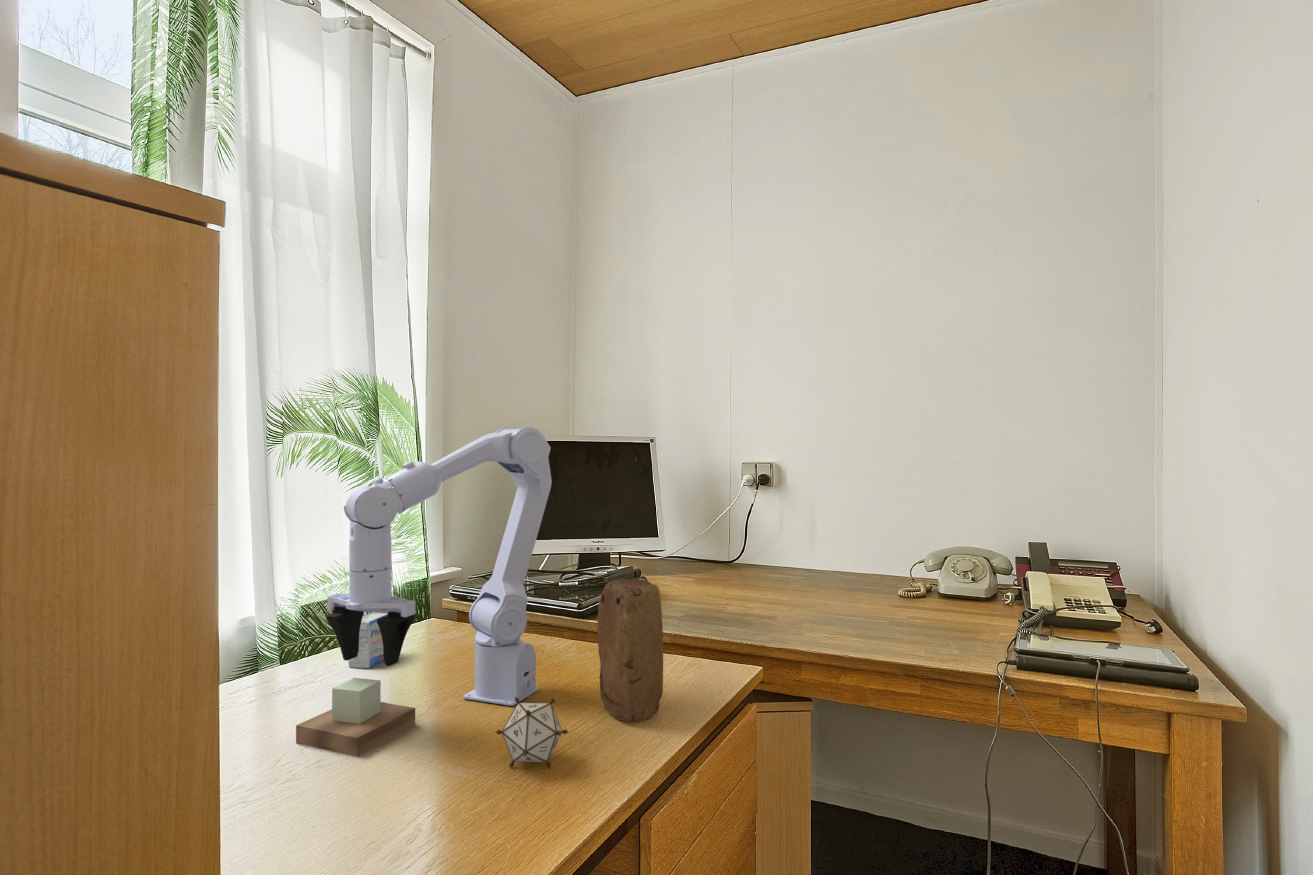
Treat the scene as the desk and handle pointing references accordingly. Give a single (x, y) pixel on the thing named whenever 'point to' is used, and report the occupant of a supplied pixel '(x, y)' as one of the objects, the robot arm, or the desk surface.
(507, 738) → the game die
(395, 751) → the desk surface
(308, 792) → the desk surface
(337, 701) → the sage block
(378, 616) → the medicine box
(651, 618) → the block
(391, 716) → the walnut block
